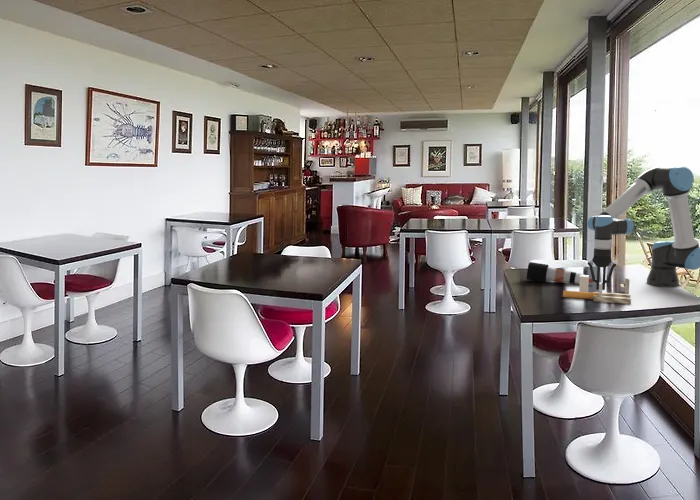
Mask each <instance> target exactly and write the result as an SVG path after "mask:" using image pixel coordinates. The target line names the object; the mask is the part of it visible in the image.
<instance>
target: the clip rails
mask: <svg viewBox="0 0 700 500" xmlns="http://www.w3.org/2000/svg"><path fill="white" fill-rule="evenodd" d="M593 293H599V291H593ZM593 302H599V303H601V302H602V303H611V304H612V303H613V304H626V305H631V304H632V298H631V294H630V293H628V294H627V293H619V292H618V293H617V292H604V291H602V296H596V295H594V299H593Z"/></svg>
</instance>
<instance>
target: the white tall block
mask: <svg viewBox="0 0 700 500" xmlns="http://www.w3.org/2000/svg"><path fill="white" fill-rule="evenodd" d="M589 279H590V275H589V274H588V275H587V274H583V275H580V284H579V289H578V290H579V291H578V292H589V283H590V282H589Z"/></svg>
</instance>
